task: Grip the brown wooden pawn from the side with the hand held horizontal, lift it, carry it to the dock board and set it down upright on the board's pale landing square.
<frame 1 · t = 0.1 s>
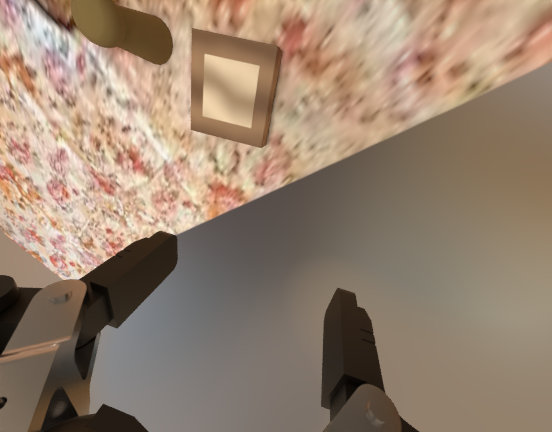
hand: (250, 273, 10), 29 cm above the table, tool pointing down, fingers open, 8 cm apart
brown wooden pawn: (155, 41, 34), on the table
dock board: (236, 93, 34), on the table
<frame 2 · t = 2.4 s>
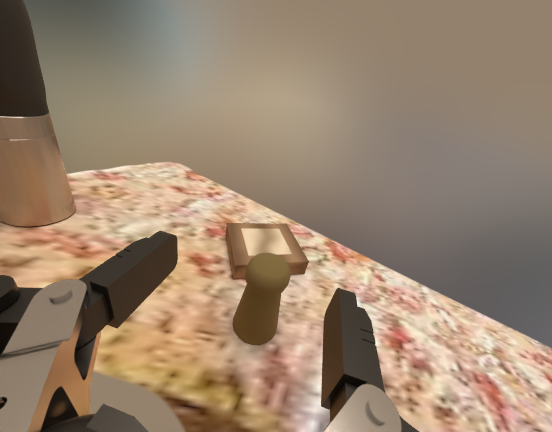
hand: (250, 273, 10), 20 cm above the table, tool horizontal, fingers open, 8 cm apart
brown wooden pawn: (255, 323, 30), on the table
dock board: (262, 253, 42), on the table
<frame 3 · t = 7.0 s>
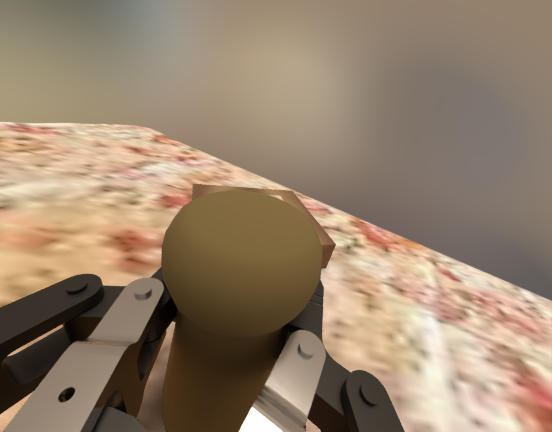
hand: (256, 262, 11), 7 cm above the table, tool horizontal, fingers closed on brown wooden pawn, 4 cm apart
brown wooden pawn: (222, 384, 12), on the table, touching gripper
dock board: (252, 233, 25), on the table
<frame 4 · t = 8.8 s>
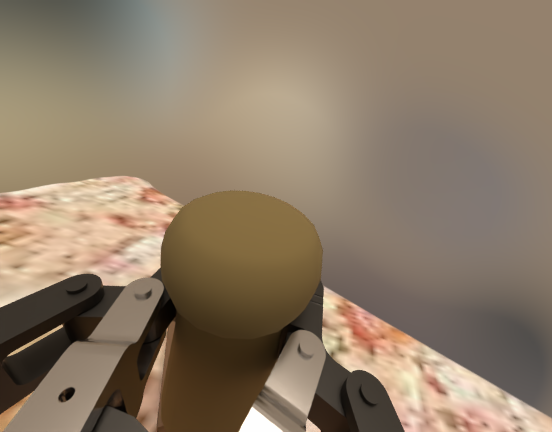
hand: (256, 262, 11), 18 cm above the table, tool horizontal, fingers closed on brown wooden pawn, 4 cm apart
brown wooden pawn: (222, 385, 12), point 11 cm above the table, touching gripper
dock board: (232, 348, 24), on the table
when the fingers open (11 cm above the table, at t = 11.0 s): brown wooden pawn moves 2 cm, point 3 cm above the table.
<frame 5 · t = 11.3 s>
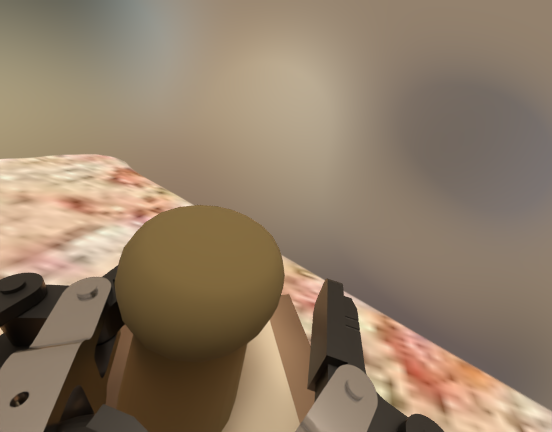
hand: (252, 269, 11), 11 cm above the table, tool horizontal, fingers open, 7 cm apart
brown wooden pawn: (182, 388, 12), point 3 cm above the table, touching gripper
dock board: (217, 412, 14), on the table
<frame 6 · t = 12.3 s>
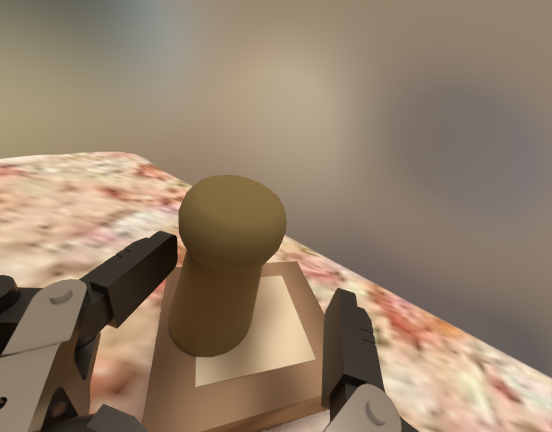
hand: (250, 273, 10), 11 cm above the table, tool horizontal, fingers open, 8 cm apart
brown wooden pawn: (212, 313, 16), point 3 cm above the table, touching dock board
dock board: (244, 339, 19), on the table
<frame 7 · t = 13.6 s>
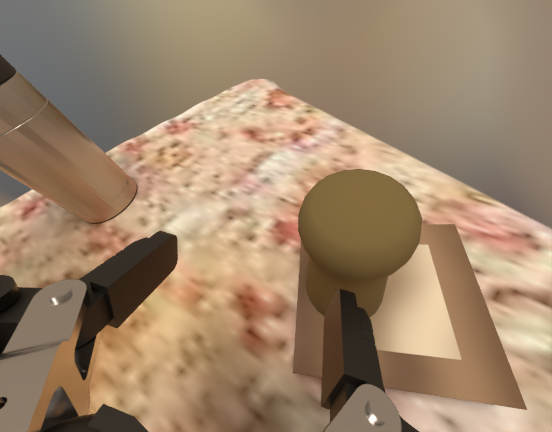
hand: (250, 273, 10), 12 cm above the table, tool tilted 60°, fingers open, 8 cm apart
brown wooden pawn: (342, 283, 18), point 3 cm above the table, touching dock board
dock board: (376, 300, 19), on the table
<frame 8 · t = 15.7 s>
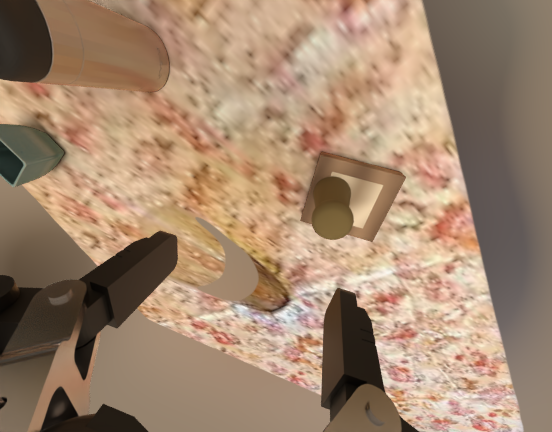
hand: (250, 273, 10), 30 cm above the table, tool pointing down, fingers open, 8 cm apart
brown wooden pawn: (331, 193, 36), point 3 cm above the table, touching dock board
flower pot: (53, 149, 49), on the table
dock board: (346, 194, 38), on the table
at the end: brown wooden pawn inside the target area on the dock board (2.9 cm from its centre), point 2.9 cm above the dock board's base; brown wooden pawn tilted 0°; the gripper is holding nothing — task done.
